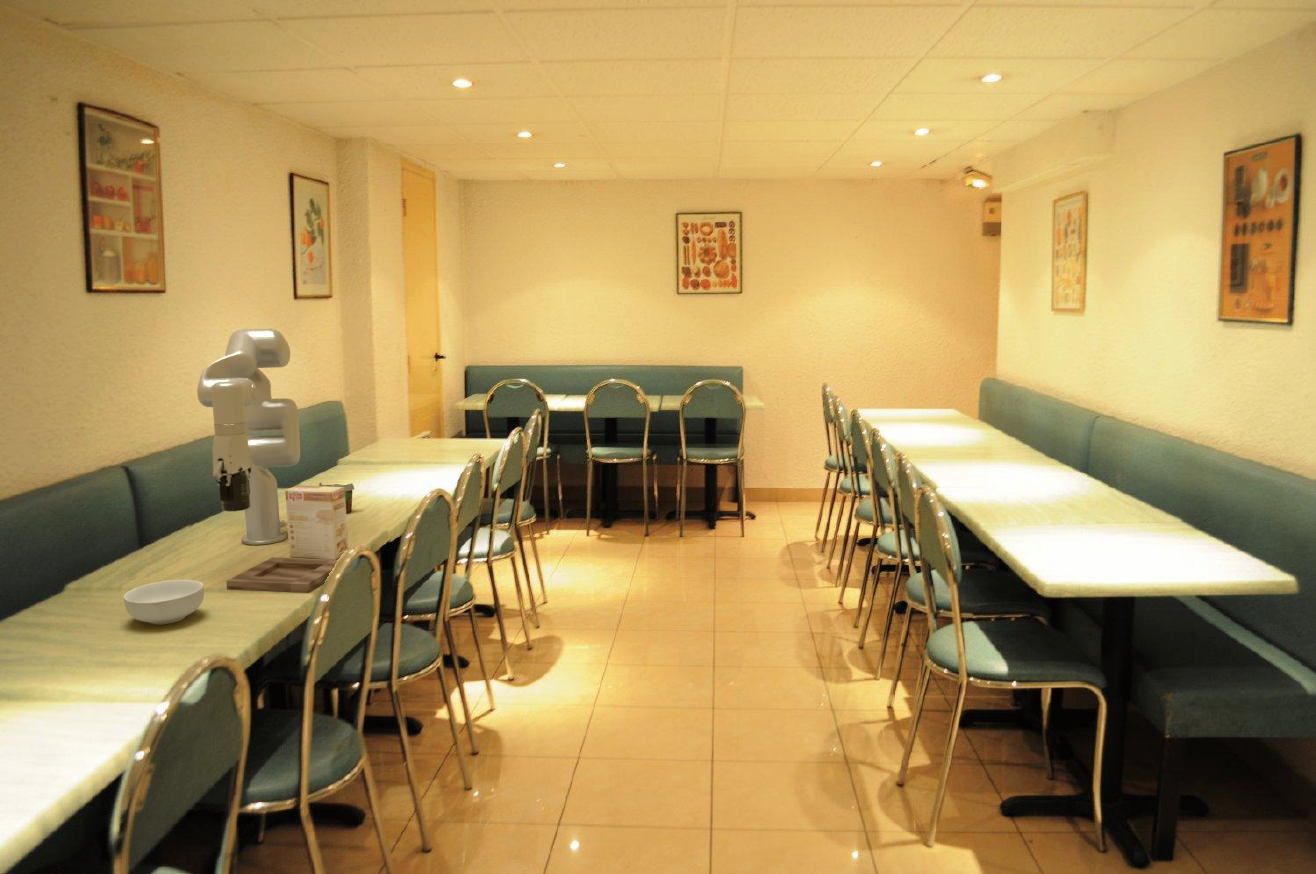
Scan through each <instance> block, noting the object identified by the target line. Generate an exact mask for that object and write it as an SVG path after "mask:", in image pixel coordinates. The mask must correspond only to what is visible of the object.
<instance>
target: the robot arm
mask: <svg viewBox="0 0 1316 874" xmlns="http://www.w3.org/2000/svg"><path fill="white" fill-rule="evenodd" d="M290 359H291V347H290V345H289V343H288V341H287V340H286V338H285V337H284V335H283V333H281V332H280V331H279V330H278V329H274V328H244V329H237V330H236V331H234V332H233V333H231V335H230V337H229V340H228V343H227V347H226V350H225V354H224V355H223V356H222V357H220V358H218V359H217V360H215V361H213V362H211V363H210V364H208V365H207V366H205V368H204V369H203V370H202V372H201V375H200V377H199V381H198V383H197V384H198V385H197V389H196V390H197V391H196V394H197V398H198V402H199V403H200V405H202V406H203V407H206V408H212V414H213V428H214V429H213V430H214V437H213V443H212V469H213V472H212V476H213V478H214V479H215V481H216V483H217V485H218V487H219V496H220V497H219V498H220V502H222V501H232V500H233V492H232V485H230V483H231V478H232V475H233V474H236V473H238V472H239V471H238V470H239V469H240V468H243V470H242V472H244V473H246V474H247V476H248V485H249V496H250V507H249V508H248V509H245V510H244V516H245V517H244V518H245V528H246V529H245V531H246V533H245V535H243V536H242V537H240V538H241V540H240V541H241V543H242V544H245V545H249V546H250V545H251V546H257V545H258V546H259V545H261V546H262V545H269V544H270V545H271V544H276V543H280V542H282V541H284V540H286V538H287V533H285V532H283V531H282V528H284V527H285V526H286V525H287V522H286V521H285V520H280V506H279V495H278V494H279V493H278V482H277V479H276V477H275V476H274V475H273V473H272V472H271V471H270V470H269V468H281V467H283V468H284V467H294V466H296V465H298V463H299V461H300V459H301V443H300V442H301V441H300V440H301V439H300V437H301V436H300V418H299V410H298V405H297V403H296V402H295V401H294V400H293V399H291V398H284V397H283V398H272V390H271V389H272V385H271V384H272V383H271V381H270V380H269V378H268V376H266V374H265V373H264V372H263V371H262V370H260V369H267V368H268V369H271V368H275V369H276V368H284V367H286V366H287V365H288V364H289V363H290V361H291V360H290ZM247 431H250V432H266V431H269V432H271V431H272V432H273V431H281V432H282V433H283V434H270V435H269V434H266V435H265V434H264V435H262V434H261V435H250V436H248V435H247ZM224 472H227V473H224ZM224 477H227V479H225V478H224Z"/></svg>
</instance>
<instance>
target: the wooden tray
mask: <svg viewBox="0 0 1316 874" xmlns="http://www.w3.org/2000/svg"><path fill="white" fill-rule="evenodd" d="M337 560H338V559H336V560H330V559H316V558H303V557H270V558H268V559H266V560H264V561H262V562H260V563H259V564H256V565H254V566H253V567H251V568H249V569H246V570H245V571H243V572H240V573H239V574H238V575H235V576H233V577H232V578H229V579H228V580H226V581H225V583H226V590H234V591H235V590H237V591H240V590H241V591H261V592H278V593H279V592H280V593H281V592H283V593H285V592H286V593H287V592H288V593H305V594H307V593H310V592H312V591H313V590H315V589H316V588H318V587H320V586H322V585H323V584H324V581H325V580H326V579H327V577H328V576H329V573H330V572H331V571H332V569H333V568H334V566H335V564H336V563H337Z"/></svg>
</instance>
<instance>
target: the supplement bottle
mask: <svg viewBox="0 0 1316 874" xmlns="http://www.w3.org/2000/svg"><path fill="white" fill-rule="evenodd" d="M242 470H243V468H240V469H239V470H238V471H239V472H238V473H236V474H233V475H232V478H231V483H230V485H232V492H233V500H232V501H221V507H222V510H223V511H224V512H240V511H245V509H248V508H249V507H250V496H249V485H248V476H247V474H246V473H244V472H242ZM224 473H227V472H224ZM224 478H225V479H227V477H224Z"/></svg>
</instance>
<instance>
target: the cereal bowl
mask: <svg viewBox="0 0 1316 874" xmlns="http://www.w3.org/2000/svg"><path fill="white" fill-rule="evenodd" d="M204 588H205V586H204V584H203V583H202V582H201V581H198V580H194V579H193V580H192V579H173V580H172V579H171V580H170V579H169V580H163V581H157V582H155V581H154V582H152V583H147V584H143V585H139V586H137V587H135V588H132V589H130V590H128V591H127V592H126V593H125V594H124V595H123V602H124V608H125V610H126V612H127V614H128V615H129V616H130V617H131V618H133V619H134V620H137V621H140V622H145V623H149V624H151V625H156V626H157V625H168V624H173V623H177V622H180V621H183V620H184V619H185V618H187V616H188V615H191V614H192V613H194V612H195V611H196V610H198V608H200V607H201V604H202V603H203V602H204V601H203V600H204V598H205V597H204V596H205V589H204Z"/></svg>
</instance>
